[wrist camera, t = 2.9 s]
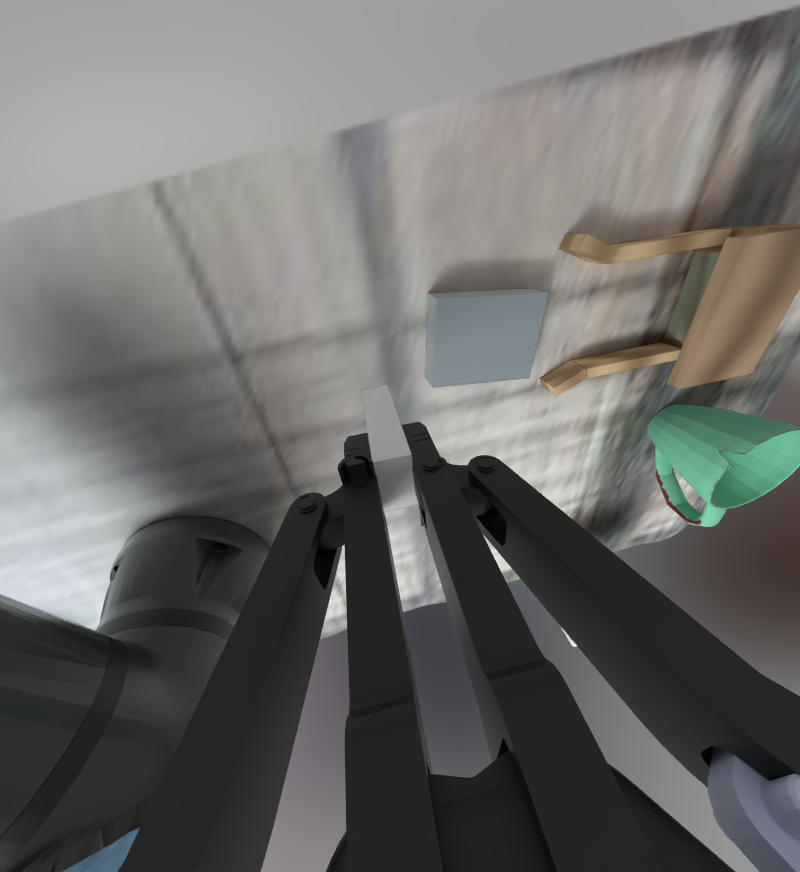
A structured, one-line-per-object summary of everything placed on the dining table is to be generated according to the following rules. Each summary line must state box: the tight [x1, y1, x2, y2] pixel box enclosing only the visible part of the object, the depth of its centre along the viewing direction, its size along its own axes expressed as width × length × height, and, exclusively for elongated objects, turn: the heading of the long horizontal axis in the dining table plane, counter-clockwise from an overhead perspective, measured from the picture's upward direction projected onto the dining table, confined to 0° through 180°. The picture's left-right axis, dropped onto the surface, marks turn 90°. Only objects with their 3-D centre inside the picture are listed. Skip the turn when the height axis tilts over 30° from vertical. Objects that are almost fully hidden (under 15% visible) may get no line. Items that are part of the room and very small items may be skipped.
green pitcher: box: [647, 404, 800, 527], centre depth 35 cm, size 15×10×10 cm
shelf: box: [540, 224, 800, 396], centre depth 25 cm, size 15×13×7 cm
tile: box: [425, 288, 549, 388], centre depth 26 cm, size 9×7×3 cm
